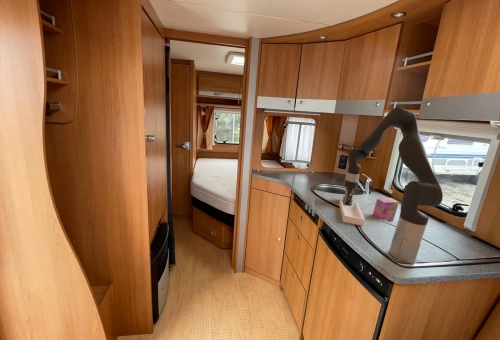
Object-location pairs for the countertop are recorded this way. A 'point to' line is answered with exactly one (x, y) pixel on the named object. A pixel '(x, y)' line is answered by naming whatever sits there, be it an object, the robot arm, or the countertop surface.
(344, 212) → the trough
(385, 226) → the countertop surface
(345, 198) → the block
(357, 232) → the countertop surface
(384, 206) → the box
